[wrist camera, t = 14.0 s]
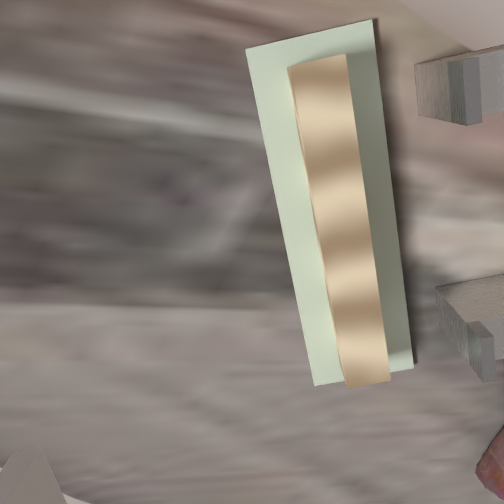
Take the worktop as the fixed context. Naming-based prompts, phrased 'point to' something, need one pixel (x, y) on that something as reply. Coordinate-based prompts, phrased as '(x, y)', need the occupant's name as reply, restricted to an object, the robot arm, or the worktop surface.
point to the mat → (297, 194)
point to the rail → (340, 215)
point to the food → (493, 466)
